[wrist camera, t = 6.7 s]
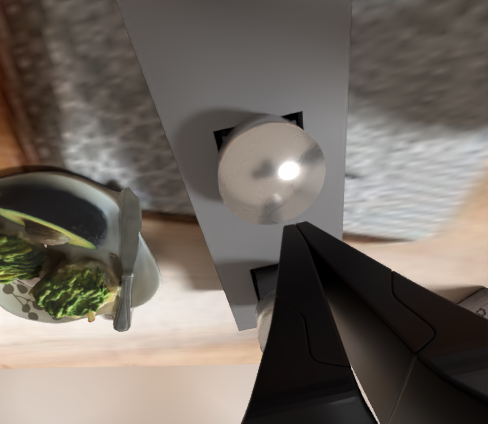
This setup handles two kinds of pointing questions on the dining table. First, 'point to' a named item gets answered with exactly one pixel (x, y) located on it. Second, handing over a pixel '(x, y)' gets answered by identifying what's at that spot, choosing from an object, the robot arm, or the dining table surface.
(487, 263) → the dining table surface
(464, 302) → the juice carton
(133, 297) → the salad plate
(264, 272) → the plunger
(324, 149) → the console
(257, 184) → the plunger middle
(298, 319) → the robot arm
